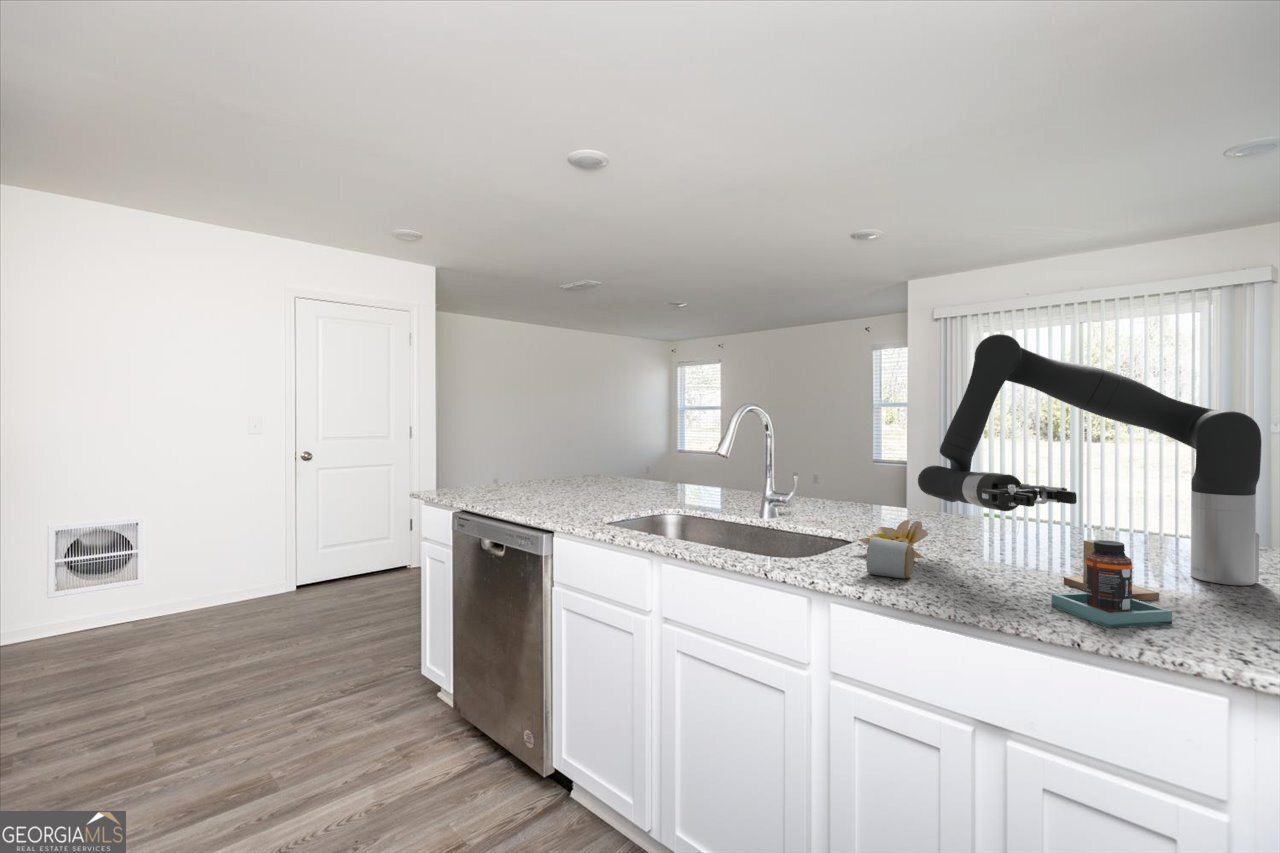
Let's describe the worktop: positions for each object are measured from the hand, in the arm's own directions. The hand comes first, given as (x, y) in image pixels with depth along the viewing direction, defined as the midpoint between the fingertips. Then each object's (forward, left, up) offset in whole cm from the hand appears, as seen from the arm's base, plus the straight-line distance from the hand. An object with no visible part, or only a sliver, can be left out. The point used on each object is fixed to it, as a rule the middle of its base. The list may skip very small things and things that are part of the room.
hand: (1054, 499), depth 113 cm
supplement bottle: (0, +12, -17) cm, 21 cm away
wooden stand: (-12, 0, -17) cm, 21 cm away
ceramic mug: (+22, -18, -18) cm, 33 cm away
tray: (0, +12, -17) cm, 21 cm away
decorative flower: (+13, -33, -18) cm, 40 cm away
